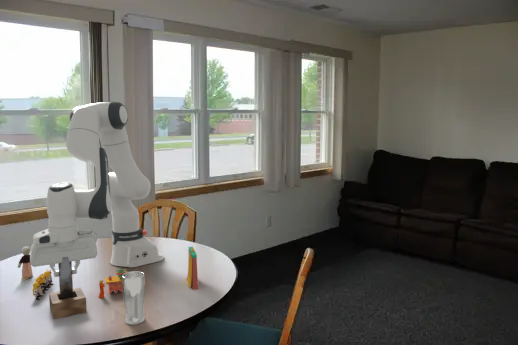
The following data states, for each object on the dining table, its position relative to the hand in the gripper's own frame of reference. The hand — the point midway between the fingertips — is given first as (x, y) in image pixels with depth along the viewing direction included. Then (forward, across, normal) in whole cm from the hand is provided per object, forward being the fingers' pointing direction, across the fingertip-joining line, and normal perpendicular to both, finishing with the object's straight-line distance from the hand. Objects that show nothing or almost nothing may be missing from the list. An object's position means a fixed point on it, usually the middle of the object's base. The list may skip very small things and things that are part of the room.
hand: (65, 274), depth 154 cm
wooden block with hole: (+12, 0, 0) cm, 12 cm away
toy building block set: (+12, -29, -6) cm, 32 cm away
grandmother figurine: (+12, +9, -40) cm, 43 cm away
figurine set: (+12, +5, -21) cm, 25 cm away
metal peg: (+8, 0, 0) cm, 8 cm away
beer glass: (+12, -17, +19) cm, 28 cm away
